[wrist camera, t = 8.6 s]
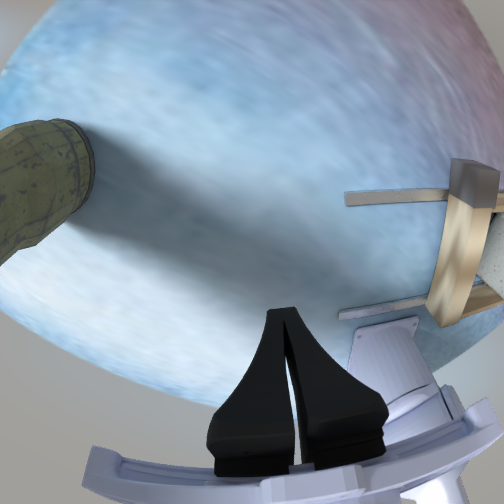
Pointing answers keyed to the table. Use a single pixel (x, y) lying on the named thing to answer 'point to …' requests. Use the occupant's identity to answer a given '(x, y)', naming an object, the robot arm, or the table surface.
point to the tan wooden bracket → (465, 243)
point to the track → (394, 197)
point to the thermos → (41, 180)
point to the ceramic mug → (494, 256)
